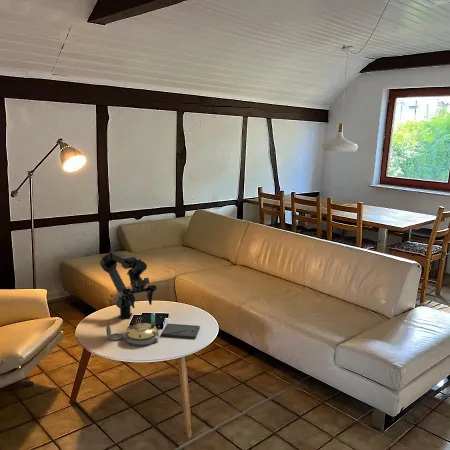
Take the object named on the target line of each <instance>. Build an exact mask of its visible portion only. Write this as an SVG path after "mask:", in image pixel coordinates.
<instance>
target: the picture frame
mask: <svg viewBox="0 0 450 450" xmlns="http://www.w3.org/2000/svg"><path fill="white" fill-rule="evenodd" d="M200 328H201V325H193V324H181V323H180V324H179V323H166V326H165V327H164V329H163V330H162V332H161V334H160V337H163V338H175V339H177V338H179V339H188V340H189V339H193V340H196V338H197V336H198V334H199V331H200Z"/></svg>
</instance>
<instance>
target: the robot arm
mask: <svg viewBox="0 0 450 450" xmlns="http://www.w3.org/2000/svg"><path fill="white" fill-rule="evenodd" d="M117 263H118V264H120V265H121V267H122V268H124V269H125V270H128V271H127V273H126V275H127V276H128V278H129V282H130V283H129V284H130V287H131V288H127V287H126V284H125V283H124V281H123V279H122V277H121V275H120V274H119V272H118V270H117V265H118V264H117ZM99 265H100V267H101V268H102V270H103V271H105V272H106V273H107V274H108V275H109V277H110V280H111V281H112V283H113V285H114V287H115V289H116V290H117V294H118V295H117V300H116V302H115V306H116V307H117V308H118V309H119V313H120V314H119V316H118V319H131V318H132V316H133V313H132V311H131V310H132V309H135V301H136V297H135V295H134V294H139V293H147V294H146V297H147V300H148V303H149V306H151V305H152V303H153V301H152V300H153V295H154V294H155V292H156V291H157V289H158V287H157V285H156V284H151V285H150V278H149V277H144V278H142V277H141V275H142V274H143V273H145V271H146V269H147V268H148V267H147V266H148V265H147V263H146V262H145V261H143V260H141V259H140V258H139V259H137V258H136V257H135V256H130V255H129V256H127V255H124V254H122V253H120V252H118V251H116V250H115V251H109V252H107V254H106V255H104V256H103V257H102V258H101V260H100V262H99ZM147 284H148V286H147ZM145 287H146V288H145ZM131 308H132V309H131Z"/></svg>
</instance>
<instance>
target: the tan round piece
mask: <svg viewBox="0 0 450 450" xmlns="http://www.w3.org/2000/svg"><path fill="white" fill-rule="evenodd" d="M157 331H158V329H157V327H156V312H151V313H150V323H147V322H140V323H134V324H132V325H128V327H126V329H125V332H126V336H127V338H129V339H131V340H136V341H143V340H148V339H151V338H153V337H155V336H156V334H157Z"/></svg>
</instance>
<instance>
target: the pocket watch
mask: <svg viewBox="0 0 450 450" xmlns="http://www.w3.org/2000/svg"><path fill="white" fill-rule="evenodd" d="M106 321H107V324H106V325H105V328H106V336H107V338H108V339H109V340H112V341H120V340H121V339H123V338H124V335H123V334H122V333H118V332H117V333H112V330H111V326H110V321H108V320H106Z"/></svg>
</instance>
